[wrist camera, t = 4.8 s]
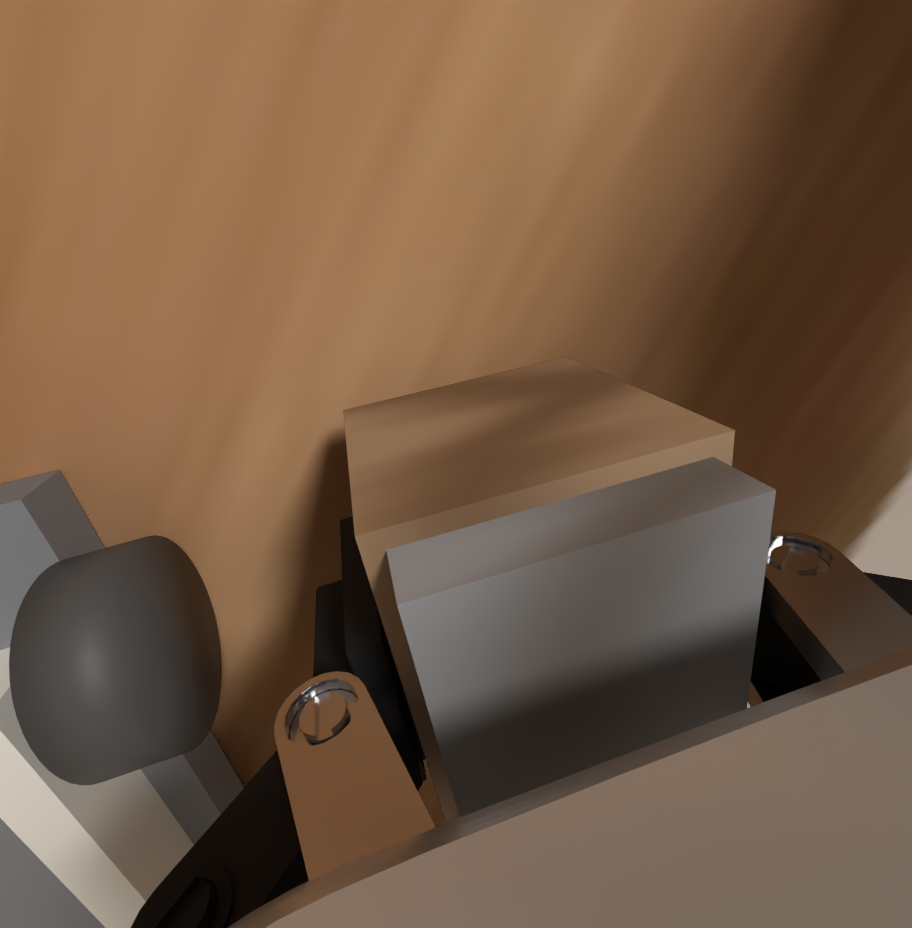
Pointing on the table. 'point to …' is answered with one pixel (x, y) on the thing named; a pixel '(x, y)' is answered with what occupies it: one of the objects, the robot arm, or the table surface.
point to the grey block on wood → (555, 571)
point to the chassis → (99, 714)
